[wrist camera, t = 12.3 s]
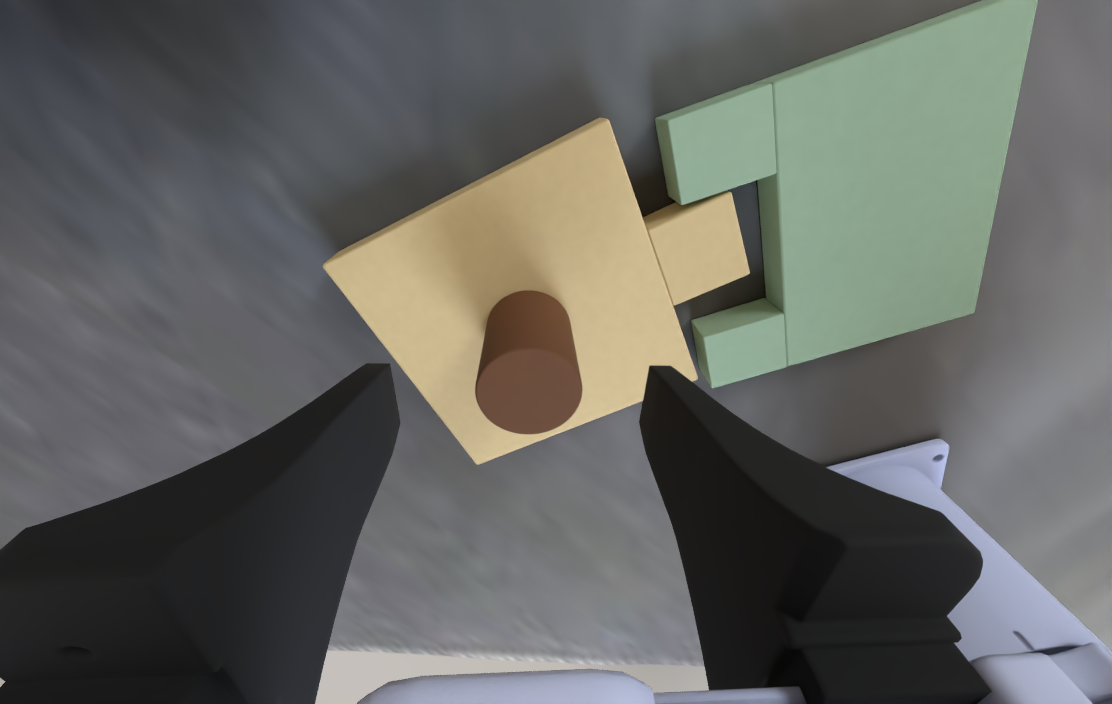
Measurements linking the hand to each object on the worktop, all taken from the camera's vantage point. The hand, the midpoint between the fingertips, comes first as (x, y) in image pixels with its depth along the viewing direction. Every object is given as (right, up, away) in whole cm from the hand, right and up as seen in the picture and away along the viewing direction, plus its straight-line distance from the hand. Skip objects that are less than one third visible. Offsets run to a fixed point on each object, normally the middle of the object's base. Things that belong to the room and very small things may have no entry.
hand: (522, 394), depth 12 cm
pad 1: (+1, +3, +4) cm, 6 cm away
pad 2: (+10, +6, +3) cm, 12 cm away
